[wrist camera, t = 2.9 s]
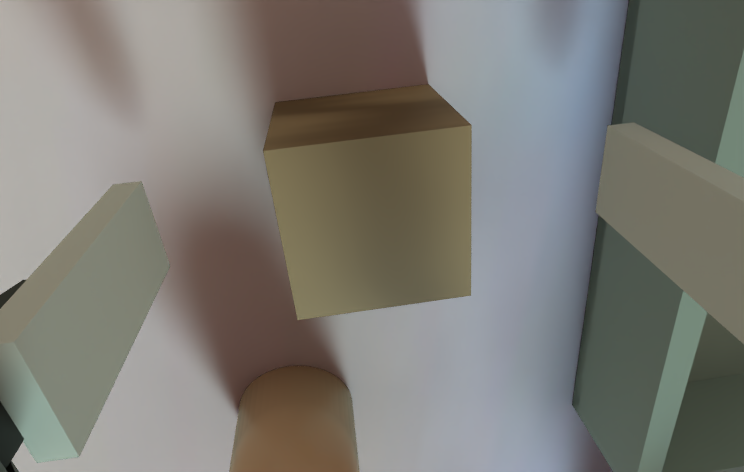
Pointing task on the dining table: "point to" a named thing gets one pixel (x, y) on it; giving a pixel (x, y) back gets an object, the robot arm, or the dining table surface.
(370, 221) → the walnut cube
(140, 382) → the dining table surface
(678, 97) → the tote
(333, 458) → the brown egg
